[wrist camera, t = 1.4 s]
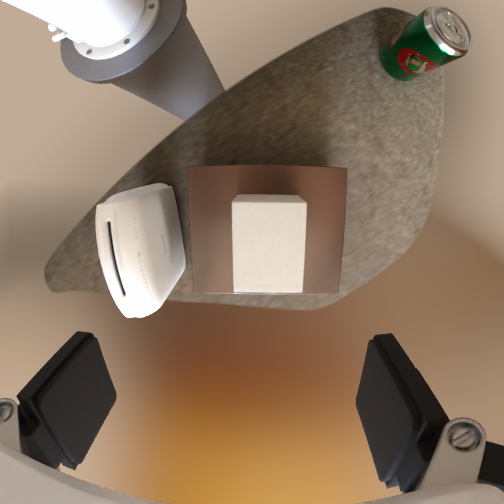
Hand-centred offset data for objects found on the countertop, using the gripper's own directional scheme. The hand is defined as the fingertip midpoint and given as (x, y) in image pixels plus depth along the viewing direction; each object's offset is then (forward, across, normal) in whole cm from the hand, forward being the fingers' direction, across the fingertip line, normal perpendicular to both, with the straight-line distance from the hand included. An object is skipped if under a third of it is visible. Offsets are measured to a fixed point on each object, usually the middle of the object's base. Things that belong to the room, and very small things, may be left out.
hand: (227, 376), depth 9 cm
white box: (+17, -2, -1) cm, 17 cm away
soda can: (+23, -17, -20) cm, 35 cm away
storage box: (+23, -2, -1) cm, 23 cm away
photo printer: (+23, +10, 0) cm, 25 cm away
